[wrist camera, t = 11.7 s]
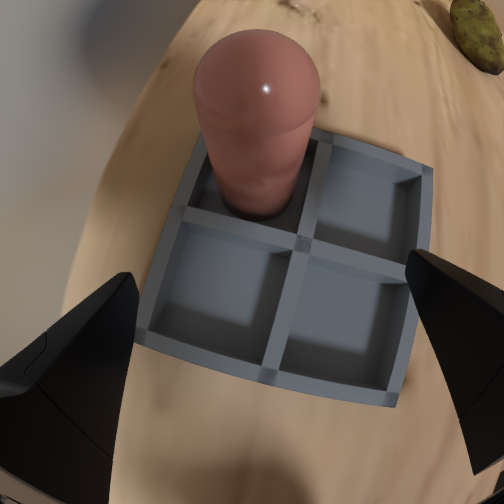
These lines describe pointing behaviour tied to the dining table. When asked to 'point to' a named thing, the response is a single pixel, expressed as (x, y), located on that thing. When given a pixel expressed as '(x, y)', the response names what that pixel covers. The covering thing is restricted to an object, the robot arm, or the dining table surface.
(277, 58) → the pink dome-topped cylinder
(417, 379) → the dining table surface
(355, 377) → the gray compartment tray
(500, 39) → the potato
